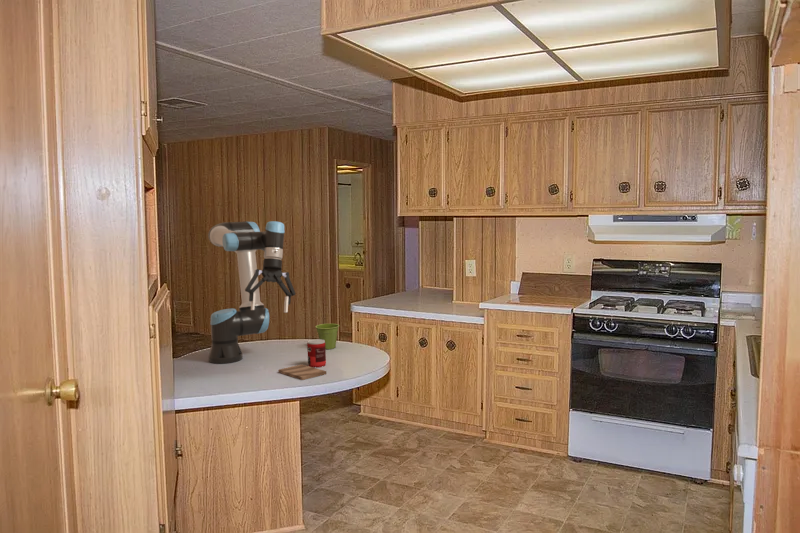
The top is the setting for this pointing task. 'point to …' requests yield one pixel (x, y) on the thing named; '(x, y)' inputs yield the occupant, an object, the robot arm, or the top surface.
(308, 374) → the walnut board
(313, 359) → the canned food
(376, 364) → the top surface
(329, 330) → the plant pot
